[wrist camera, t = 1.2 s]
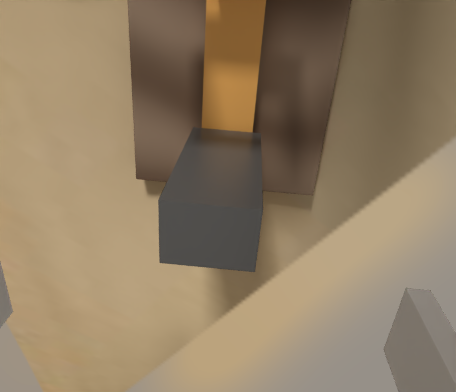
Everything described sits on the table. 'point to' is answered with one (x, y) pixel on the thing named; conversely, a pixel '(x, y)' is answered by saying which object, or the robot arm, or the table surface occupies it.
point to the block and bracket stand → (220, 152)
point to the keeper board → (266, 88)
